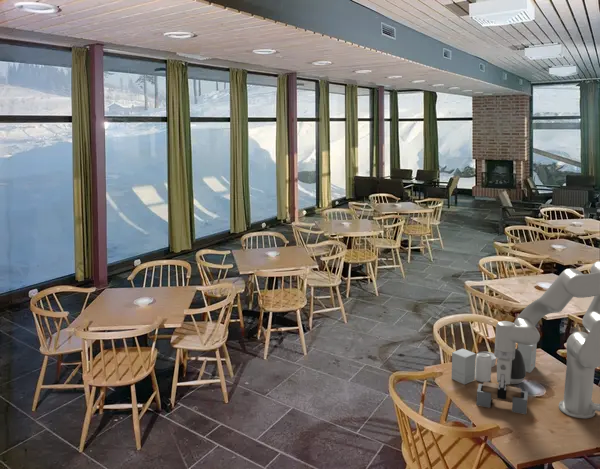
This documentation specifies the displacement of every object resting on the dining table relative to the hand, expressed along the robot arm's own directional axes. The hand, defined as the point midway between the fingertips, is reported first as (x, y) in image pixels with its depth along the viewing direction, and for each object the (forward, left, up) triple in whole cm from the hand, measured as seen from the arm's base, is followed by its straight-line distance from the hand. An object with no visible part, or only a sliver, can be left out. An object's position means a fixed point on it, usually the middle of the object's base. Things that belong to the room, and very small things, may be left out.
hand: (501, 395), depth 209 cm
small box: (-8, -39, -5) cm, 40 cm away
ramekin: (+9, -37, -5) cm, 38 cm away
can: (+9, -20, -5) cm, 22 cm away
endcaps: (0, 0, -4) cm, 4 cm away
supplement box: (+17, -17, -5) cm, 24 cm away
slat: (0, 0, -1) cm, 1 cm away
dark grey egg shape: (-3, -23, -5) cm, 24 cm away
